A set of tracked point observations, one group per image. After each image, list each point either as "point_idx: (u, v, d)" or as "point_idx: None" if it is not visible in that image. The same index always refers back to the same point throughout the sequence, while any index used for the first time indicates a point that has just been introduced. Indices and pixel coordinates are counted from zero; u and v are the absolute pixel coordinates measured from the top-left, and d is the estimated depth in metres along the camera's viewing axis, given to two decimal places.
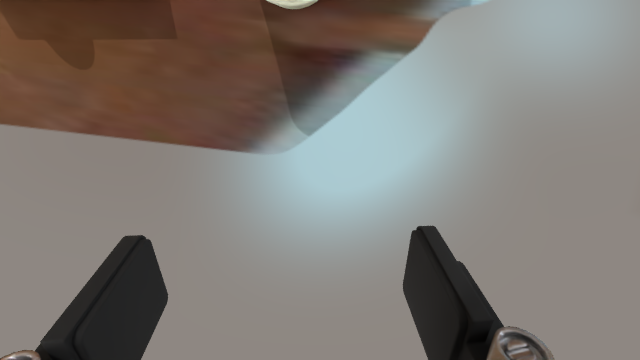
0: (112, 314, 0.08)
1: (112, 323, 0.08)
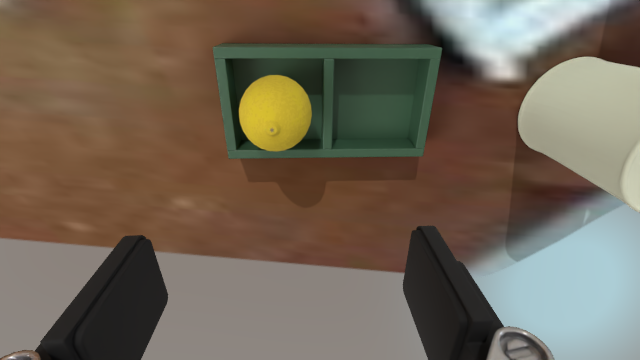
0: (112, 314, 0.08)
1: (112, 323, 0.08)
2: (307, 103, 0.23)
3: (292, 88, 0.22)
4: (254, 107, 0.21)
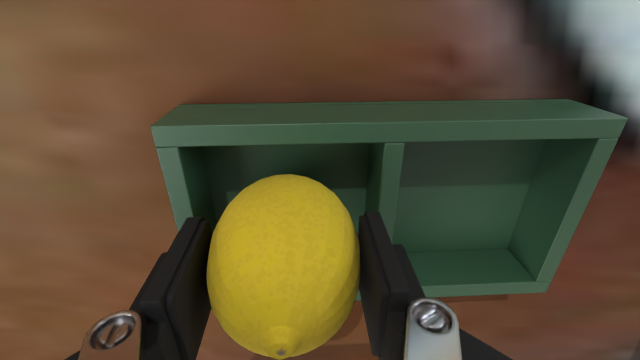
0: (188, 283, 0.09)
1: (188, 291, 0.09)
2: (355, 248, 0.11)
3: (325, 226, 0.10)
4: (238, 292, 0.09)
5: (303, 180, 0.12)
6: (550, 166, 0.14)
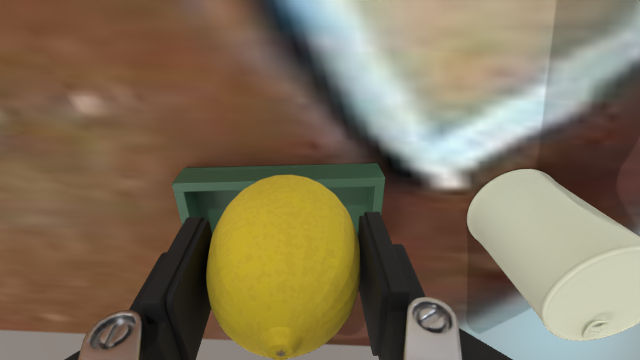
0: (188, 283, 0.09)
1: (188, 291, 0.09)
2: (355, 248, 0.11)
3: (325, 227, 0.10)
4: (238, 292, 0.09)
5: (303, 181, 0.12)
6: (369, 196, 0.29)
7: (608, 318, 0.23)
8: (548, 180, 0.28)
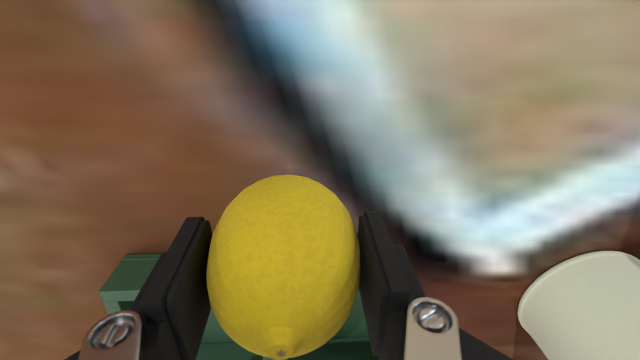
0: (188, 283, 0.09)
1: (188, 291, 0.09)
2: (355, 248, 0.11)
3: (325, 227, 0.10)
4: (238, 292, 0.09)
5: (303, 181, 0.12)
6: None
7: None
8: None
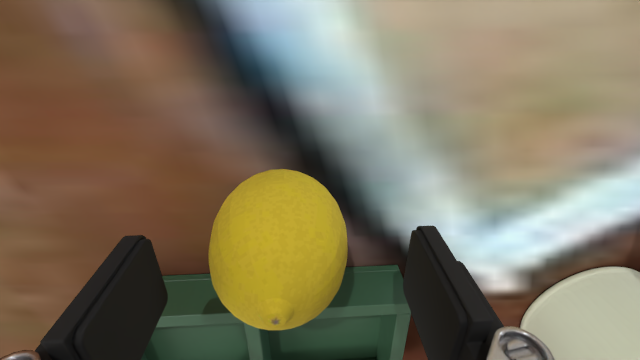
0: (112, 314, 0.08)
1: (112, 323, 0.08)
2: (342, 233, 0.12)
3: (314, 212, 0.11)
4: (237, 269, 0.10)
5: (295, 174, 0.13)
6: None
7: None
8: None
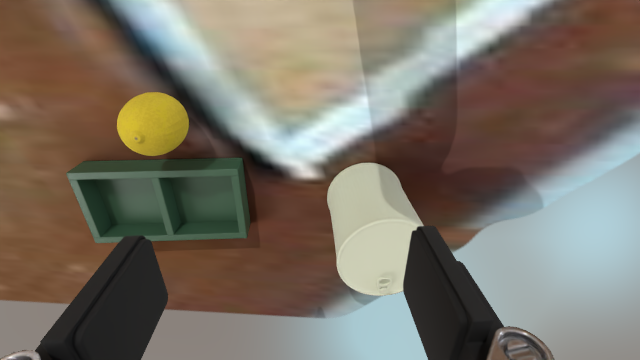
0: (112, 314, 0.08)
1: (112, 323, 0.08)
2: (175, 115, 0.28)
3: (159, 103, 0.27)
4: (123, 120, 0.26)
5: (160, 93, 0.29)
6: None
7: (394, 277, 0.30)
8: (378, 171, 0.35)
